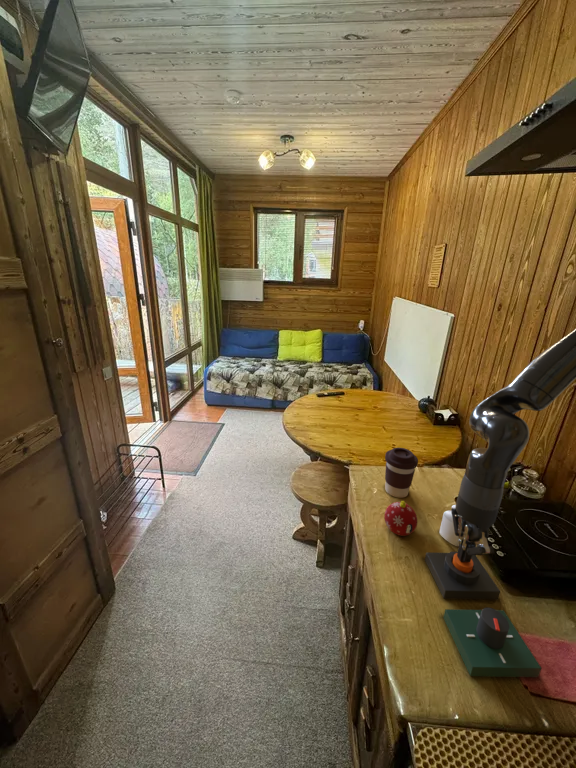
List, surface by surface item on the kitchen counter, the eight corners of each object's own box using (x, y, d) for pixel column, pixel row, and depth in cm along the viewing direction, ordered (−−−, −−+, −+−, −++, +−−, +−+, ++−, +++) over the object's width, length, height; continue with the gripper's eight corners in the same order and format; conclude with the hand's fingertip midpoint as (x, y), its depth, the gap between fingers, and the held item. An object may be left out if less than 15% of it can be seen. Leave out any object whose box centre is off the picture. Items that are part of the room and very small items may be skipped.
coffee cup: (375, 491, 103) (380, 452, 98) (389, 479, 109) (395, 441, 105) (403, 506, 96) (410, 465, 91) (417, 492, 103) (424, 453, 98)
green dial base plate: (500, 620, 64) (503, 609, 63) (537, 679, 54) (542, 667, 53) (442, 619, 64) (445, 608, 63) (469, 678, 54) (473, 666, 53)
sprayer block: (471, 562, 77) (475, 546, 75) (497, 601, 68) (502, 584, 66) (424, 561, 77) (427, 545, 75) (443, 600, 67) (447, 583, 66)
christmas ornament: (405, 518, 91) (410, 490, 88) (421, 541, 83) (426, 511, 80) (378, 520, 90) (381, 492, 87) (390, 544, 82) (395, 513, 79)
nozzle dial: (474, 620, 61) (479, 602, 59) (500, 629, 59) (506, 611, 58) (478, 643, 57) (484, 625, 55) (506, 653, 55) (512, 635, 54)
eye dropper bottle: (447, 548, 81) (455, 511, 77) (437, 531, 86) (444, 496, 83) (463, 548, 81) (472, 511, 77) (452, 532, 86) (460, 496, 83)
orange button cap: (465, 559, 73) (467, 552, 72) (475, 574, 69) (477, 567, 68) (448, 559, 73) (450, 552, 72) (457, 574, 69) (459, 567, 68)
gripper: (519, 520, 59) (497, 586, 64) (478, 478, 71) (463, 537, 77) (479, 519, 59) (461, 586, 64) (446, 477, 71) (433, 536, 77)
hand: (462, 559), depth 70 cm, fingers closed
